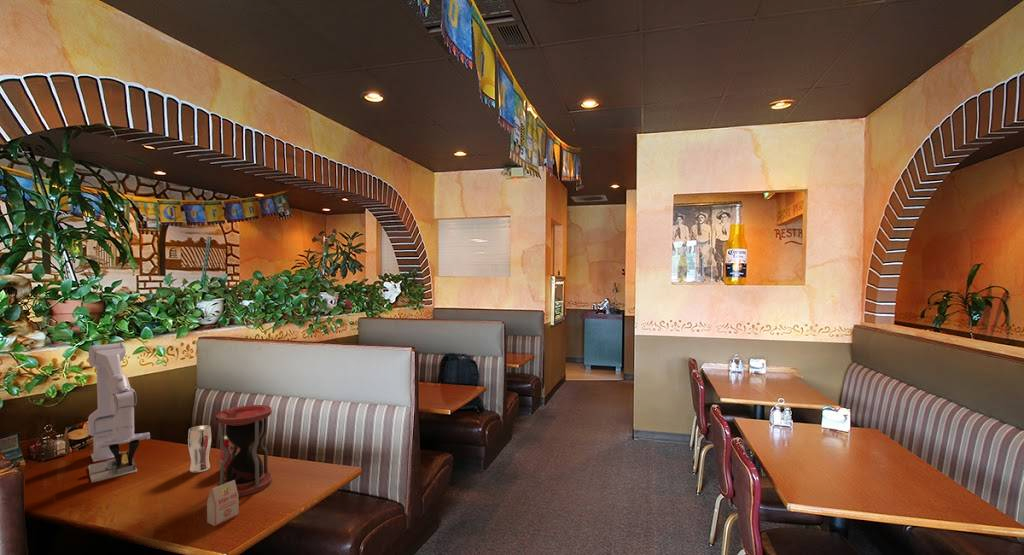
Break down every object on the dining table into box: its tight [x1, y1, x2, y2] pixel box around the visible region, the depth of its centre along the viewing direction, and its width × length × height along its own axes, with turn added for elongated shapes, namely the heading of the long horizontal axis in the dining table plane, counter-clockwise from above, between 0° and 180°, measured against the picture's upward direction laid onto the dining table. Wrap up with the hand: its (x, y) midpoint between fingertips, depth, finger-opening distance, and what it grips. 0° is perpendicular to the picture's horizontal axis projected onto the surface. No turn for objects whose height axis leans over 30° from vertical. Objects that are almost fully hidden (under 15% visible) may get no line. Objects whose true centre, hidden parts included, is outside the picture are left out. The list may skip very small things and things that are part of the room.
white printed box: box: [206, 480, 240, 527], centre depth 133 cm, size 4×7×10 cm, turn 152°
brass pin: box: [119, 450, 129, 468], centre depth 164 cm, size 3×3×6 cm
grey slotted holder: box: [87, 458, 134, 471], centre depth 168 cm, size 9×12×4 cm
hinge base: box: [88, 460, 138, 483], centre depth 163 cm, size 9×12×4 cm
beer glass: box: [187, 424, 212, 474], centre depth 166 cm, size 7×7×15 cm
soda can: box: [219, 434, 240, 473], centre depth 166 cm, size 7×7×12 cm
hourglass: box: [215, 404, 273, 497], centre depth 153 cm, size 16×16×25 cm
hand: (124, 463), depth 164 cm, fingers closed on brass pin, 3 cm apart
